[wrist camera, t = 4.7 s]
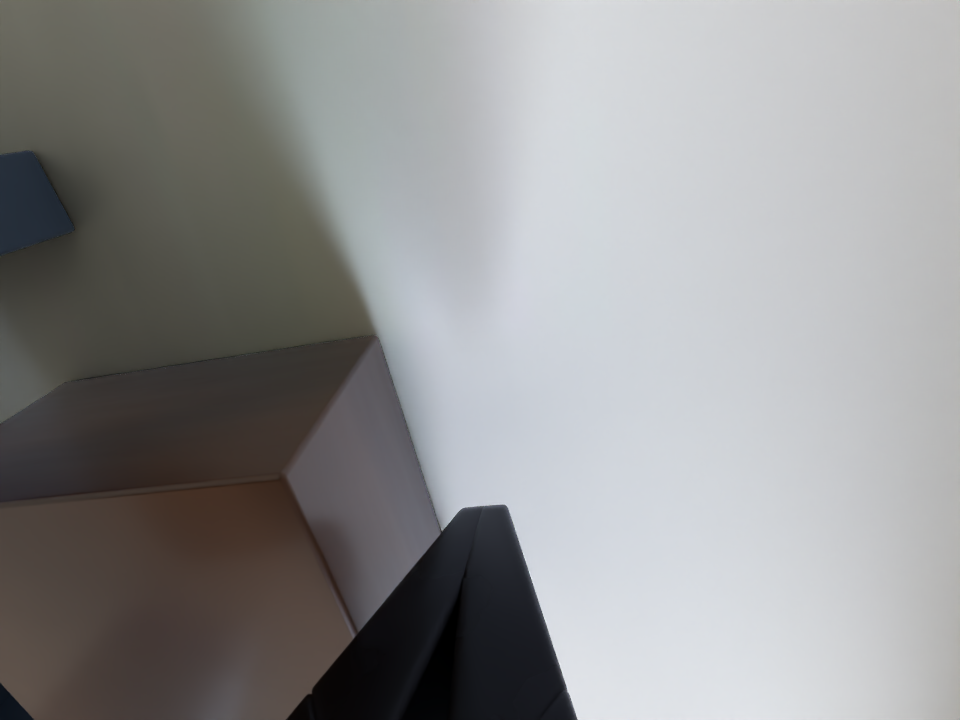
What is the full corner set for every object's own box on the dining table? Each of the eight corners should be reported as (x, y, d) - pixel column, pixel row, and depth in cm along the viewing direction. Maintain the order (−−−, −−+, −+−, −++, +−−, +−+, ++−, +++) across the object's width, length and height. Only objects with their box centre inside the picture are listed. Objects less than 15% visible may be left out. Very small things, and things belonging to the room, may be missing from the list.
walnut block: (378, 332, 9) (283, 475, 6) (463, 597, 11) (429, 795, 8) (65, 380, 10) (-154, 520, 7) (206, 610, 13) (93, 786, 9)
